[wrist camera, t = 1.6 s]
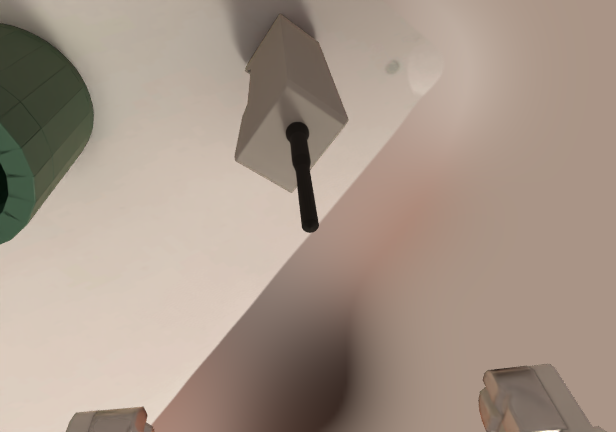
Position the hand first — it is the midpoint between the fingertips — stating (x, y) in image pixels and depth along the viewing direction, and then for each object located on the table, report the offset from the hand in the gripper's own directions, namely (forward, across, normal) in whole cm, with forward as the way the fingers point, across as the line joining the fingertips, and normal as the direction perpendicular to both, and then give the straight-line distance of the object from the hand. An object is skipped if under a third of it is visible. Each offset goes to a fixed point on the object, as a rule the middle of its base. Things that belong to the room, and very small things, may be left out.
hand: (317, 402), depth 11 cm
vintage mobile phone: (+32, 0, 0) cm, 32 cm away
